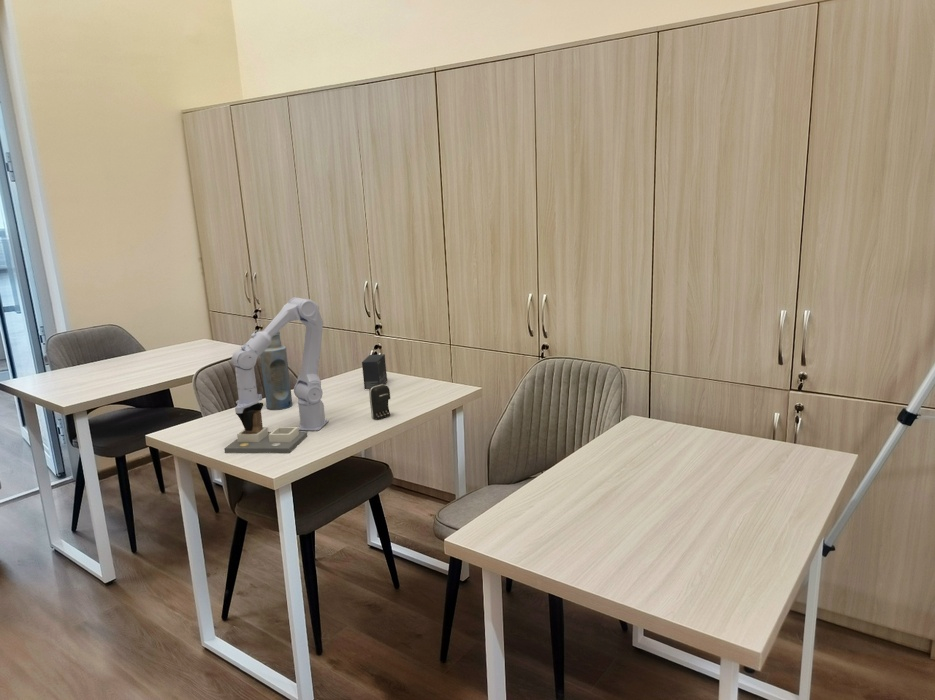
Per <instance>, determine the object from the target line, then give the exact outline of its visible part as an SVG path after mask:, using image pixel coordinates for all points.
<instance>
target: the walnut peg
mask: <svg viewBox="0 0 935 700" xmlns="http://www.w3.org/2000/svg"><path fill="white" fill-rule="evenodd" d="M263 427H264V426H263V419H262V409H261V410H255V411H254V414H253V429H252V431H245V434H257V433H258V432H260V431H261V430H262V429H263Z"/></svg>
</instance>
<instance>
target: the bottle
mask: <svg viewBox="0 0 935 700" xmlns="http://www.w3.org/2000/svg"><path fill="white" fill-rule="evenodd" d="M280 334H281V333H280V330H279V331H278V332H277V333H276V334H275V335H274V336H273V337H272V338H271V344H270V345H269V346H268V347H267V349H266V350H265V351H264V352H263V353H262V354H261V355H260V356H259V357H260V363H261V365H260V366H261V374H262V382H263V386H264V387H263V388H264V396H265V403H266V409H268V410H272V411H278V410H279V409H280V410H284V409H288V408H290V407H291V406H293V399H292V398H293V397H292V389H291V388H292V387H291V380H290V371H289V370H290V369H289V362H288V354H287V346H285V345H283V344H282V341H281V340H282V339H281V336H280Z"/></svg>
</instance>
